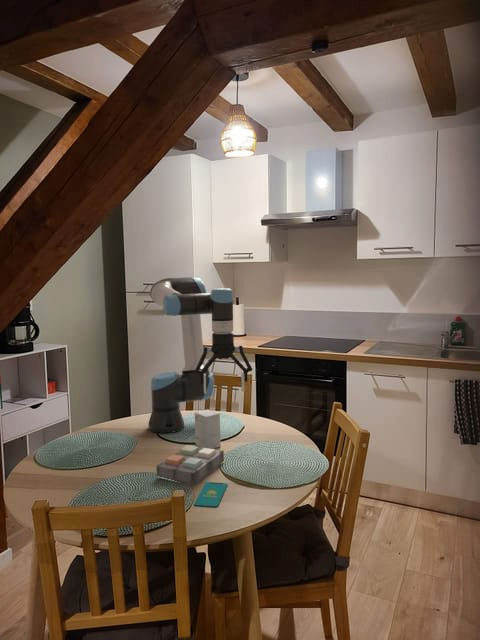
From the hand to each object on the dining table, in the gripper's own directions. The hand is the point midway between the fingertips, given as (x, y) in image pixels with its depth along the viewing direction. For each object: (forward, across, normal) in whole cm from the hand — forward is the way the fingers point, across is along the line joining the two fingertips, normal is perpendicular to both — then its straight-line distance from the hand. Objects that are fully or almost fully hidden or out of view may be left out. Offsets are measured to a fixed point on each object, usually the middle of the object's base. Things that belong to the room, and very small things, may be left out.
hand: (224, 391), depth 171 cm
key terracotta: (+21, -18, -13) cm, 30 cm away
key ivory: (+21, -7, -9) cm, 24 cm away
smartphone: (+24, -7, -30) cm, 39 cm away
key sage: (+21, -13, -5) cm, 25 cm away
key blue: (+21, -12, -17) cm, 29 cm away
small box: (+24, -6, +11) cm, 27 cm away
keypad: (+24, -12, -11) cm, 29 cm away
